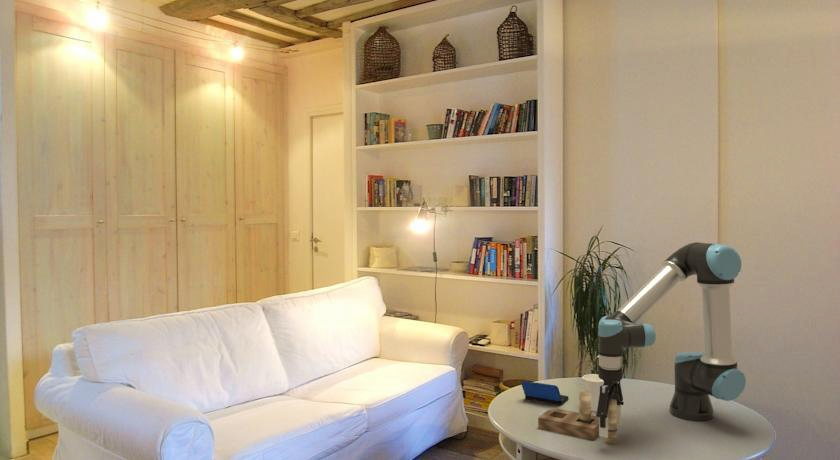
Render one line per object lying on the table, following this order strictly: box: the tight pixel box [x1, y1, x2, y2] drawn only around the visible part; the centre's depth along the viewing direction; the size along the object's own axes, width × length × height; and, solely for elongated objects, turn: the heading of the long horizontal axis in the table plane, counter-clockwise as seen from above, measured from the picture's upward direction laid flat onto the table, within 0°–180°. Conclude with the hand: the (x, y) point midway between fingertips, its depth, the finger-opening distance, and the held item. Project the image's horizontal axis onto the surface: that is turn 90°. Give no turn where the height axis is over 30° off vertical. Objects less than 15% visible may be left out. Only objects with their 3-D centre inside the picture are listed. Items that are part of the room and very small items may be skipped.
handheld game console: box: [520, 380, 569, 406], centre depth 243 cm, size 16×13×9 cm
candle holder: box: [581, 373, 604, 413], centre depth 233 cm, size 10×10×12 cm
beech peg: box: [603, 399, 618, 445], centre depth 201 cm, size 4×4×14 cm
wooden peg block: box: [537, 389, 600, 441], centre depth 213 cm, size 20×12×14 cm, turn 55°
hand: (610, 430), depth 201 cm, fingers open, 13 cm apart
